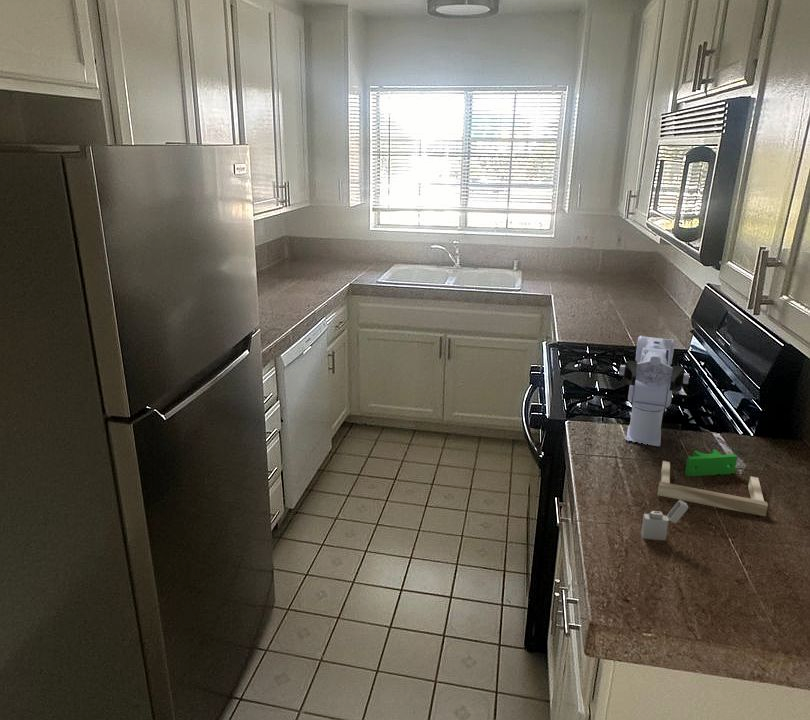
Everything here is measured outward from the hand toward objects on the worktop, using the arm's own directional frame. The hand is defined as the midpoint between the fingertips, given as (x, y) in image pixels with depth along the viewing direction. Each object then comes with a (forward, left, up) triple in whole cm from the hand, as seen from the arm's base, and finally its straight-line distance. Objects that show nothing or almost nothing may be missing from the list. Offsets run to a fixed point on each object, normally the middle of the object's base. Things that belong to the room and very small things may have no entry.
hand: (652, 383), depth 129 cm
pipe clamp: (-7, +14, -22) cm, 27 cm away
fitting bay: (+2, +14, -22) cm, 26 cm away
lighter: (+24, +5, -22) cm, 33 cm away
